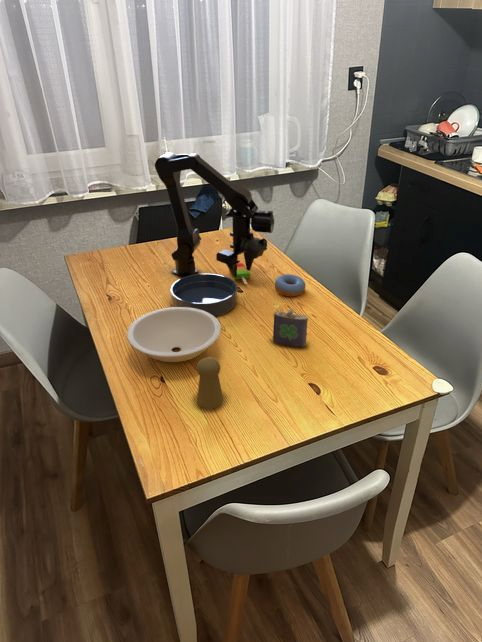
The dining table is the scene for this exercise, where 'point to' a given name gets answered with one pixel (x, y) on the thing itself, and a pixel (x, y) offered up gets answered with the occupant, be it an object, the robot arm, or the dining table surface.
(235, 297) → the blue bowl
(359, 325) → the dining table surface
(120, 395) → the dining table surface
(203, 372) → the brown game pawn
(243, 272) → the popsicle
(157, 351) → the grey bowl
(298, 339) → the flask
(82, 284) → the dining table surface
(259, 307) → the dining table surface
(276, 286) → the doughnut
